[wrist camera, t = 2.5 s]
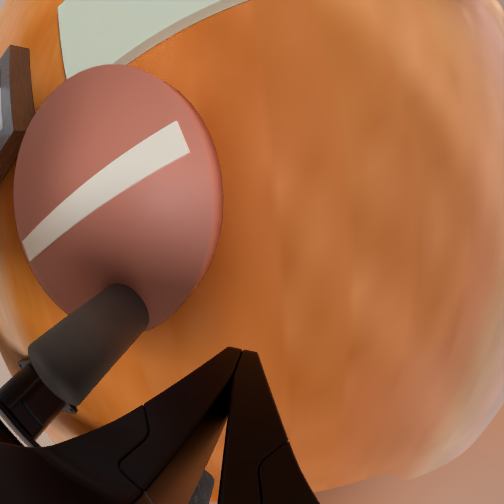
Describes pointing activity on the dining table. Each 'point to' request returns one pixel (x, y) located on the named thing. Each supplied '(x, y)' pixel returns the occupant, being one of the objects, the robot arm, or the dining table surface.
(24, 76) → the dark grey square frame
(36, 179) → the handwheel
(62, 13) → the board
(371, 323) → the dining table surface
